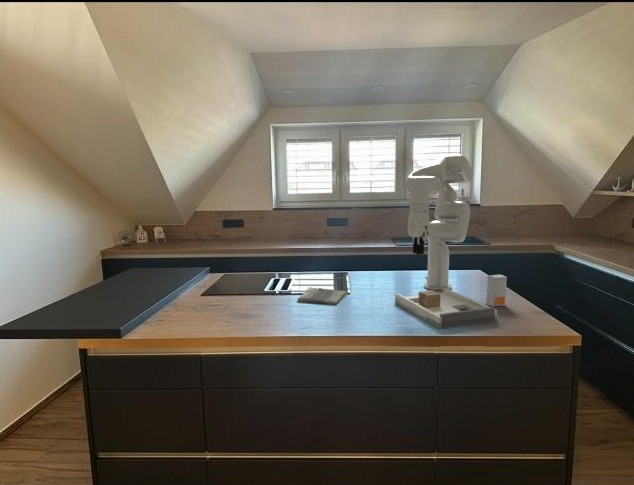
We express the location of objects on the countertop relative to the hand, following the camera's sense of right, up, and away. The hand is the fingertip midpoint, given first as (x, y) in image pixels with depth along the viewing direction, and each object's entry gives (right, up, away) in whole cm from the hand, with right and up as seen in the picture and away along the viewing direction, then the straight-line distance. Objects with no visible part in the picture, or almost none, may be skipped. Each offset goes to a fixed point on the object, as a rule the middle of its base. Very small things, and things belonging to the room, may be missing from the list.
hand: (418, 253), depth 168 cm
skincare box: (+32, -21, 0) cm, 38 cm away
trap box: (+8, -22, -7) cm, 25 cm away
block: (+3, -20, -6) cm, 21 cm away
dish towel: (-38, -21, +14) cm, 46 cm away
